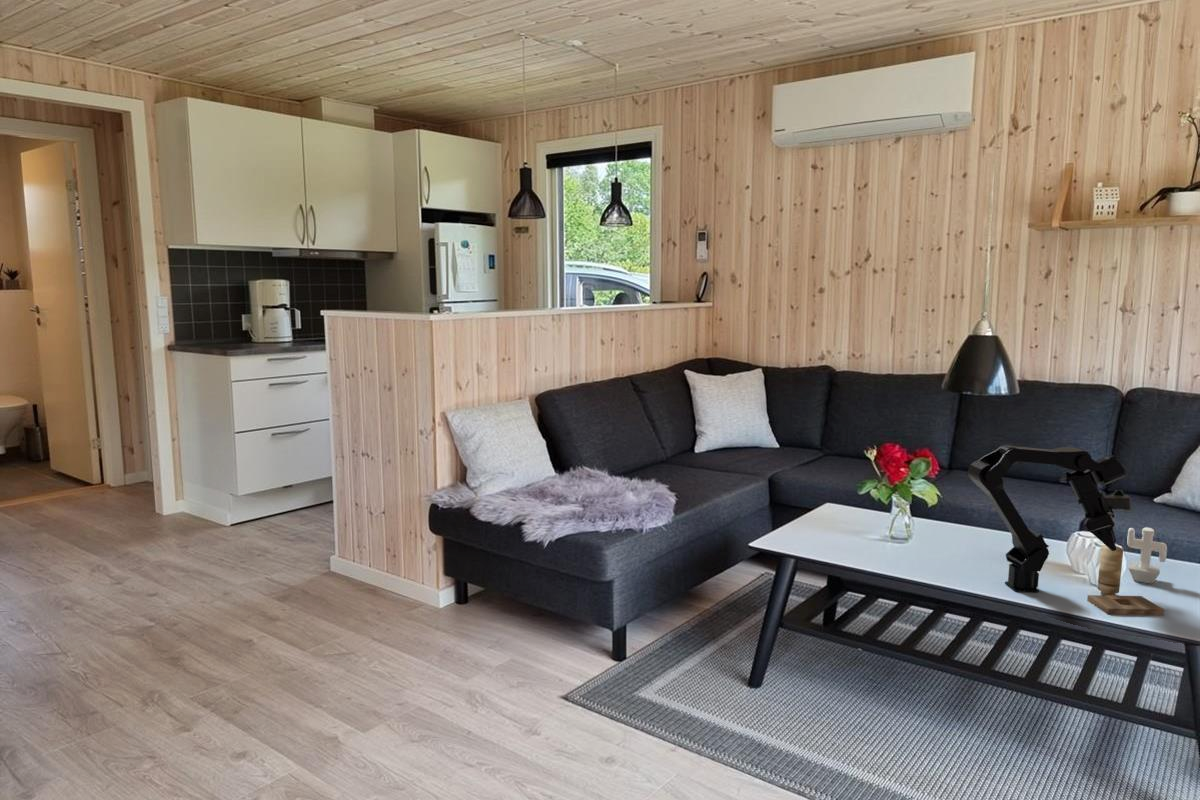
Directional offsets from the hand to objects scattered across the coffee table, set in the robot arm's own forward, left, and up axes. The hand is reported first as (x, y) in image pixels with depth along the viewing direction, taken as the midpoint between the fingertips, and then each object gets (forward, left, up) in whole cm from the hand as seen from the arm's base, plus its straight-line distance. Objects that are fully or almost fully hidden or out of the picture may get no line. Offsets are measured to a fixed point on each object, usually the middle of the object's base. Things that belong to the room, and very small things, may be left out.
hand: (1114, 546), depth 218 cm
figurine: (+17, +12, -14) cm, 25 cm away
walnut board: (-1, -9, -13) cm, 16 cm away
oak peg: (0, 0, -13) cm, 13 cm away
